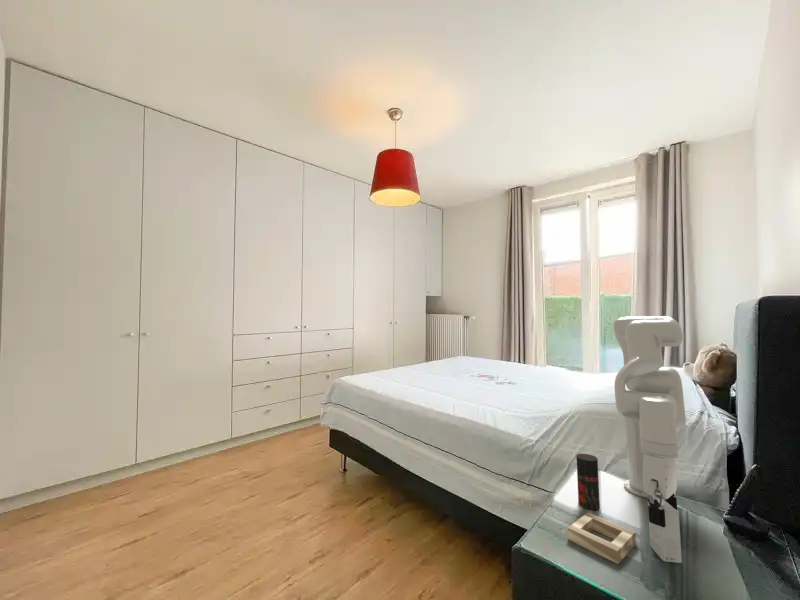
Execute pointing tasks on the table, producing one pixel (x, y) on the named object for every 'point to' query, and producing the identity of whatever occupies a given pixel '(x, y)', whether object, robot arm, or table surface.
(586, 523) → the holder
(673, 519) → the skincare box
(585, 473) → the deodorant
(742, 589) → the table surface
